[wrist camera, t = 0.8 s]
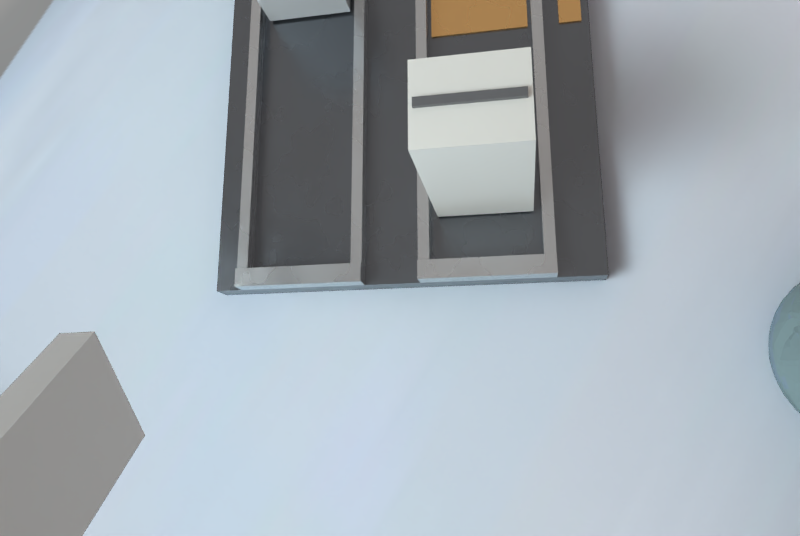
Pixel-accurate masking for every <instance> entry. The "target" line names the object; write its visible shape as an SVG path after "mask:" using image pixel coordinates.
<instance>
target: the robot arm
mask: <svg viewBox="0 0 800 536" xmlns="http://www.w3.org/2000/svg"><path fill="white" fill-rule="evenodd" d="M144 436H145V434H144V432H143V430H142V428H141V426H140V424H139V422H138V420H137V418H136V416H135V413H134V411H133V409H132V407H131V405H130V403H129V401H128V399H127V397H126V395H125V393H124V391H123V389H122V387H121V385H120V383H119V381H118V379H117V377H116V374H115V372H114V370H113V368H112V366H111V364H110V362H109V360H108V358H107V356H106V354H105V352H104V350H103V348H102V346H101V344H100V342H99V340H98V338H97V335H96V333H95V332H77V333H59V334H58V336H57V337H56V338H55V339H54V340H53V341H52V342H51V343H50V344H49V345H48V346H47V347H46V348H45V349H44V350H43V351H42V352H41V353H40V355H39V356H38V357H37V358H36V359H35V360H34V361H33V362H32V363H31V364H30V365H29V366H28V367H27V368H26V369H25V370H24V371H23V373H22V374H21V375H20V376H19V377H18V378H17V379H16V380H15V381H14V382H13V383H12V384H11V385H10V386H9V387H8V388H7V389H6V390H5V392H4V393H3V394H2V395H1V396H0V536H83V534H84V532H85V531H86V529H87V528H88V526H89V524H90V523H91V521H92V520H93V518H94V516H95V515H96V513H97V512H98V510H99V508H100V507H101V505H102V503H103V502H104V500H105V499H106V497H107V495H108V494H109V492H110V491H111V489H112V487H113V486H114V484H115V483H116V481H117V479H118V478H119V476H120V475H121V473H122V471H123V470H124V468H125V467H126V465H127V463H128V462H129V460H130V459H131V457H132V455H133V454H134V452H135V451H136V449H137V447H138V446H139V444H140V443H141V441H142V439H143V438H144Z"/></svg>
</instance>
